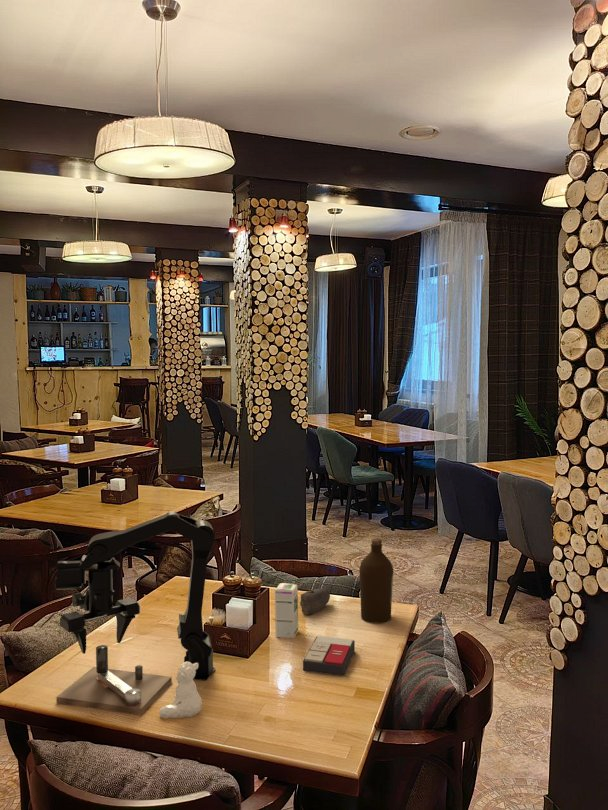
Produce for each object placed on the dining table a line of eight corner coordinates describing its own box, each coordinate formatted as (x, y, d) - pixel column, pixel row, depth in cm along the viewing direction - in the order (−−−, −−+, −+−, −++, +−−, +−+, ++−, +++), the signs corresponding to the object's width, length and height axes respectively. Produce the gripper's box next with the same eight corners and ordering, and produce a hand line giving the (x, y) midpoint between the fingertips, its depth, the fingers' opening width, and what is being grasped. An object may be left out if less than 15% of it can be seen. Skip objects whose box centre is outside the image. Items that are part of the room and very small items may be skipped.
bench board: (171, 682, 168) (171, 665, 168) (141, 715, 152) (140, 696, 152) (93, 672, 173) (93, 655, 173) (56, 703, 158) (56, 684, 158)
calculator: (302, 658, 174) (316, 633, 189) (302, 674, 175) (316, 647, 189) (343, 663, 171) (354, 637, 186) (343, 679, 172) (355, 652, 186)
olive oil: (365, 625, 204) (365, 545, 203) (354, 613, 214) (355, 536, 213) (397, 622, 206) (398, 543, 205) (386, 610, 217) (386, 534, 215)
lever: (144, 700, 155) (143, 669, 154) (130, 706, 152) (129, 674, 152) (106, 672, 169) (106, 643, 169) (93, 677, 167) (92, 647, 166)
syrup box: (294, 638, 195) (294, 590, 194) (274, 637, 196) (274, 588, 195) (298, 631, 200) (298, 583, 199) (279, 629, 201) (279, 582, 200)
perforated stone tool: (323, 601, 225) (323, 581, 224) (336, 605, 221) (336, 585, 221) (295, 615, 213) (294, 593, 213) (307, 619, 210) (307, 597, 209)
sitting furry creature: (180, 698, 160) (179, 649, 159) (211, 705, 157) (211, 655, 156) (157, 717, 151) (156, 666, 151) (189, 725, 148) (189, 673, 147)
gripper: (120, 571, 178) (121, 628, 179) (50, 586, 165) (51, 648, 166) (140, 581, 169) (141, 641, 170) (68, 598, 157) (69, 663, 158)
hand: (101, 647), depth 166 cm, fingers open, 9 cm apart
